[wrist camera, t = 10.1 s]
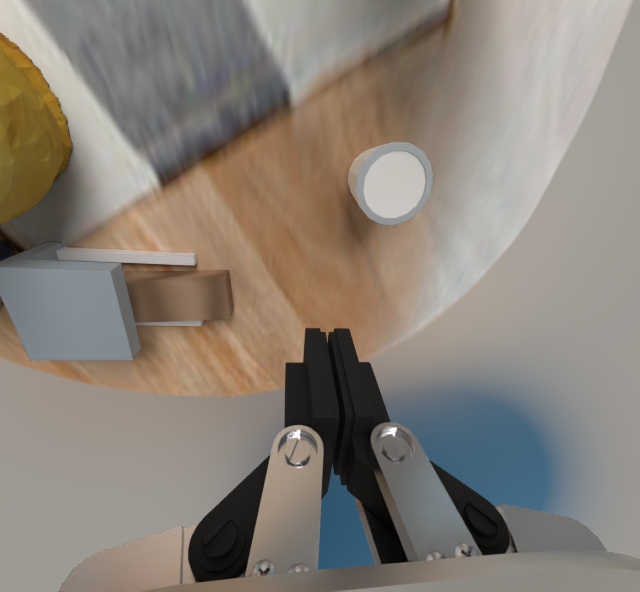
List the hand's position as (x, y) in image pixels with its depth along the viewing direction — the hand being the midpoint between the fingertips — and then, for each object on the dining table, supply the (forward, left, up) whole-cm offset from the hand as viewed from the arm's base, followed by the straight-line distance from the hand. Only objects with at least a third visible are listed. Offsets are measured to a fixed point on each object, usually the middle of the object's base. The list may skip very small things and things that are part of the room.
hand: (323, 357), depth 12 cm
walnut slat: (+16, +10, -24) cm, 30 cm away
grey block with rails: (+19, +9, -24) cm, 32 cm away
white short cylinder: (-8, -5, -24) cm, 26 cm away
